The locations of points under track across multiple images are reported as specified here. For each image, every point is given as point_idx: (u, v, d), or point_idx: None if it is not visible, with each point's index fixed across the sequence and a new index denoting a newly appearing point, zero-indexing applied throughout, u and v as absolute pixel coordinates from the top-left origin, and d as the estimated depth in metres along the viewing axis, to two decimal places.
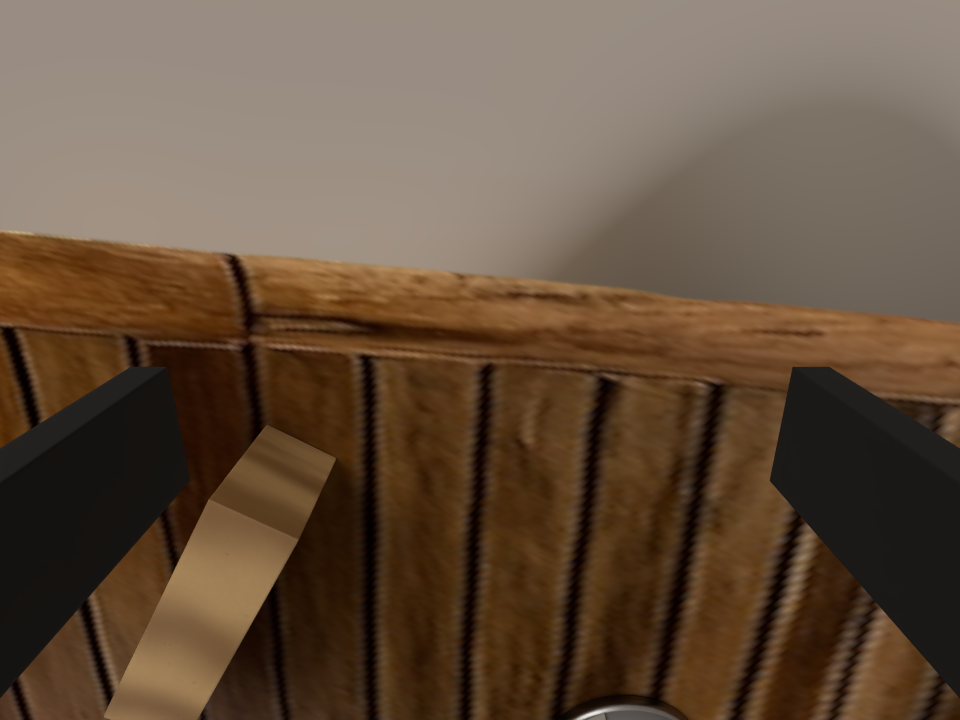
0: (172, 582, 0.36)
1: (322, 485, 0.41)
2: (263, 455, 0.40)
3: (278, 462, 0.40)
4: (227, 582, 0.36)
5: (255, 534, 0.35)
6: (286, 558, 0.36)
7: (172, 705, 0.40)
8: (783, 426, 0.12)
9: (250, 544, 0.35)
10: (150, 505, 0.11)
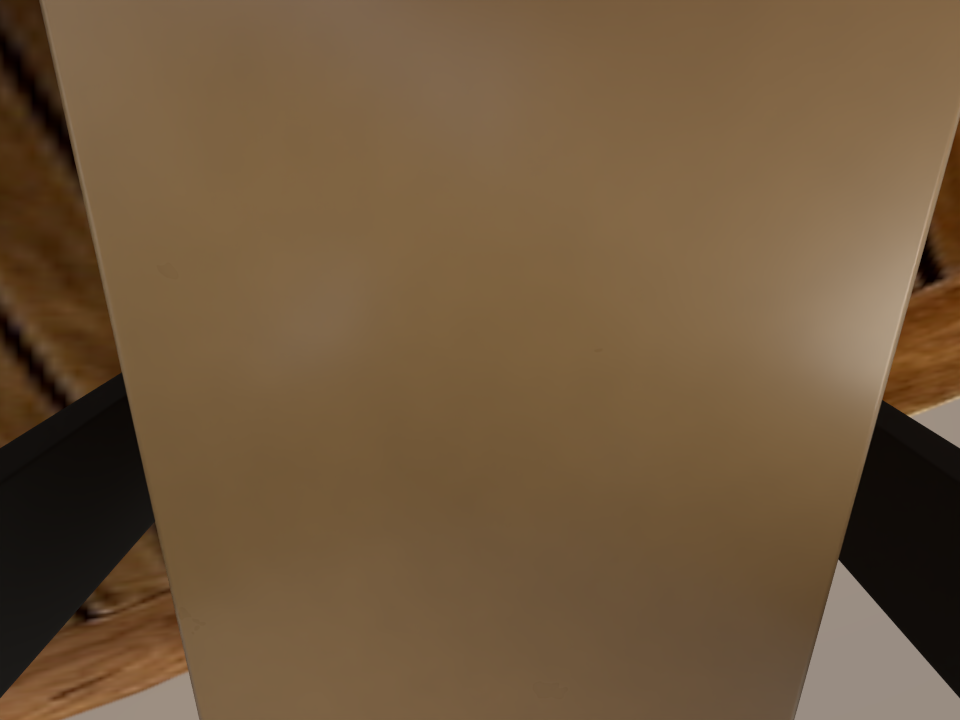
0: (882, 299, 0.04)
1: None
2: None
3: None
4: (460, 504, 0.05)
5: None
6: None
7: None
8: None
9: None
10: (150, 505, 0.11)
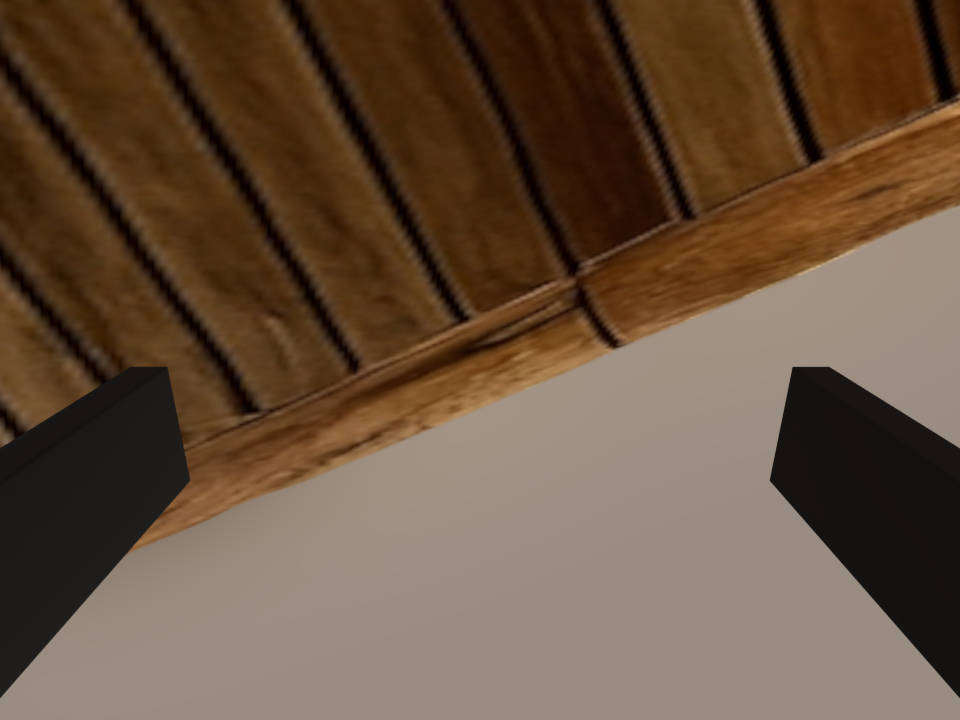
0: None
1: None
2: None
3: None
4: None
5: None
6: None
7: None
8: (782, 426, 0.12)
9: None
10: (150, 505, 0.11)
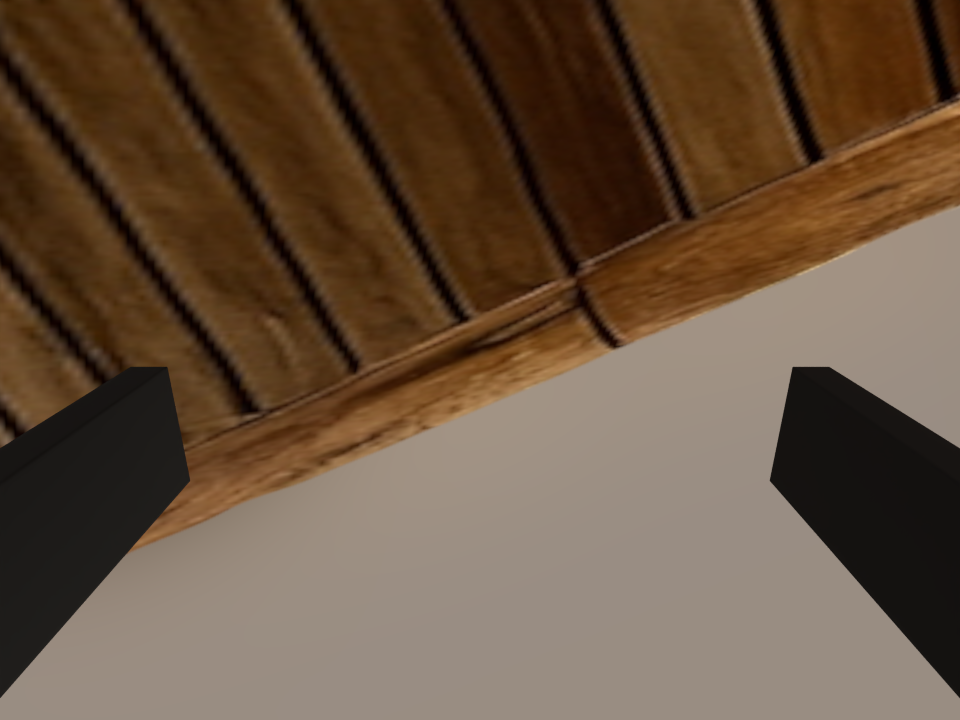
0: None
1: None
2: None
3: None
4: None
5: None
6: None
7: None
8: (782, 426, 0.12)
9: None
10: (150, 505, 0.11)
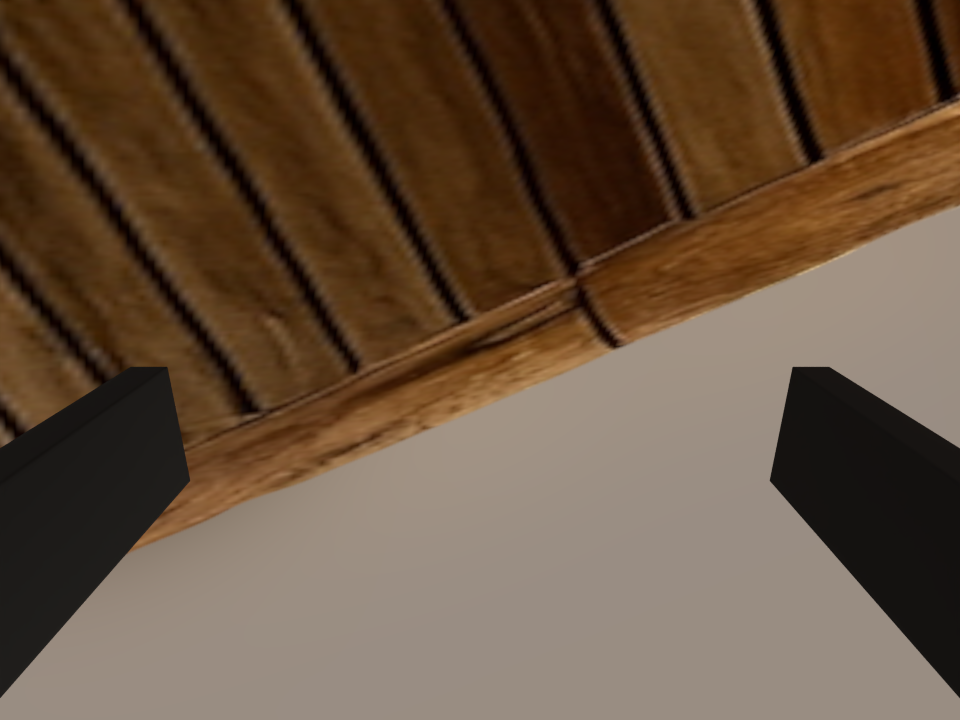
0: None
1: None
2: None
3: None
4: None
5: None
6: None
7: None
8: (782, 426, 0.12)
9: None
10: (150, 505, 0.11)
